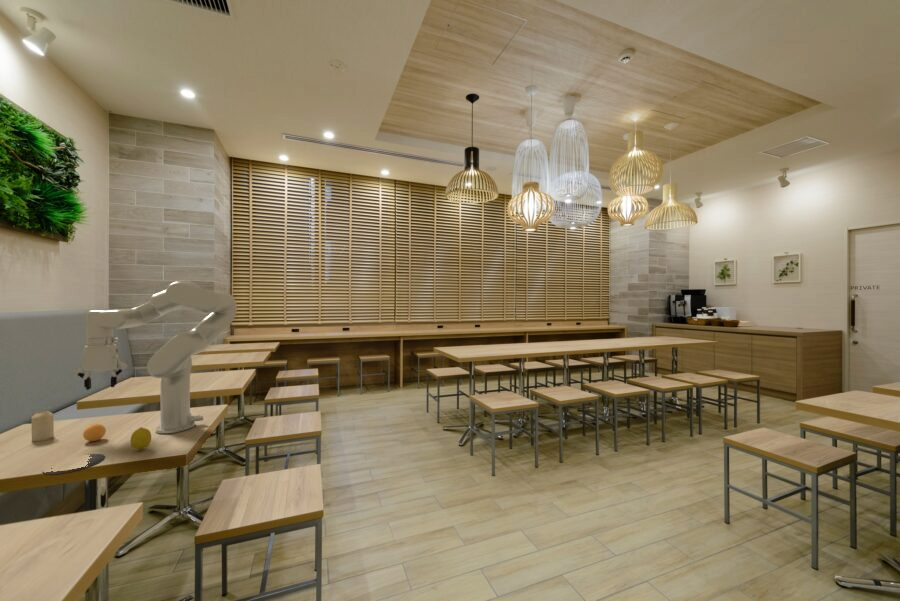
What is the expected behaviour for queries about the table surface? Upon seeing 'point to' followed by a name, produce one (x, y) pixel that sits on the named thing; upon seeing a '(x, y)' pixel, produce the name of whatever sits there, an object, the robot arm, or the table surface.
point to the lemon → (140, 438)
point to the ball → (94, 432)
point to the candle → (42, 426)
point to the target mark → (93, 461)
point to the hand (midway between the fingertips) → (101, 387)
